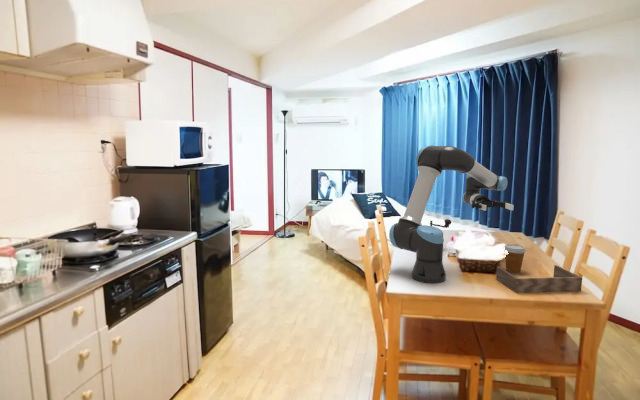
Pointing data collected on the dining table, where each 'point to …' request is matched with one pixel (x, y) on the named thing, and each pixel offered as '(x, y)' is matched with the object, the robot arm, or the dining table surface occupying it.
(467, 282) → the dining table surface
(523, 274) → the dining table surface
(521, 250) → the disposable coffee cup
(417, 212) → the robot arm
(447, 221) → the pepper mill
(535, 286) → the walnut crate
